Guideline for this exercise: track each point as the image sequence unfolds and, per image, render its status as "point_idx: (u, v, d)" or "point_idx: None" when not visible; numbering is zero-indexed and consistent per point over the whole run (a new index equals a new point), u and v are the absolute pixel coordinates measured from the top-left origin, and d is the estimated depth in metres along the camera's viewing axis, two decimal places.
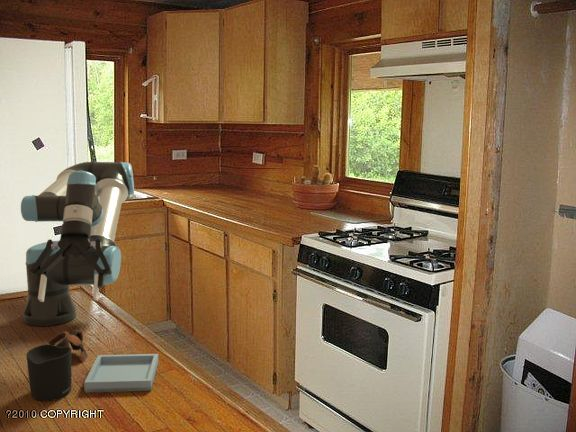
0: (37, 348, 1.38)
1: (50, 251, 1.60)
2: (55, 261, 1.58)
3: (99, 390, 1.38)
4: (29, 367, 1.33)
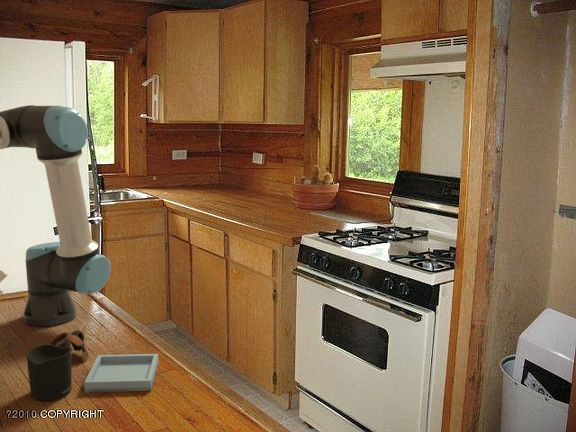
0: (37, 348, 1.38)
1: None
2: None
3: (99, 390, 1.38)
4: (29, 367, 1.33)
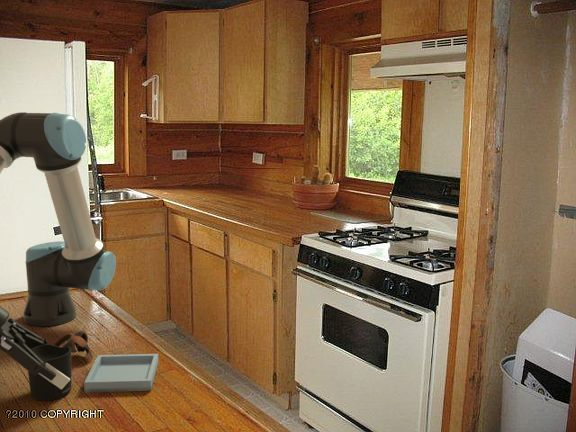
0: (37, 348, 1.38)
1: None
2: (24, 343, 1.37)
3: (99, 390, 1.38)
4: None
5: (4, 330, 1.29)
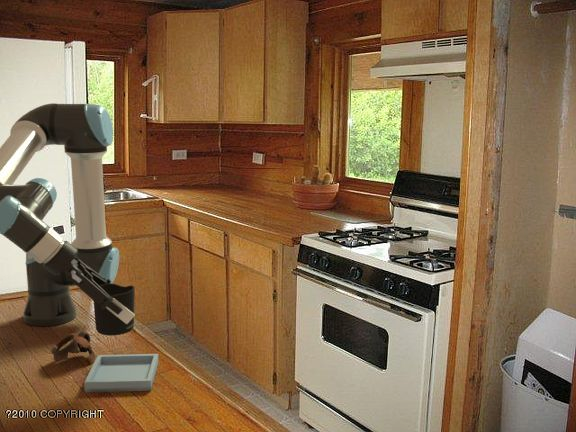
0: (101, 286, 1.43)
1: None
2: None
3: (99, 390, 1.38)
4: (95, 302, 1.38)
5: (74, 265, 1.34)
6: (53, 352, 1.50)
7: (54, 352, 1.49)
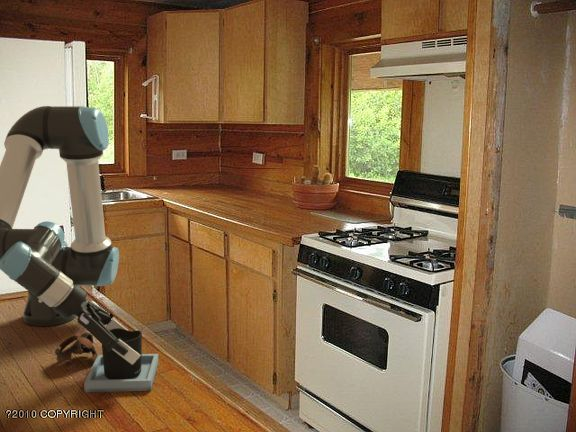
0: None
1: None
2: None
3: (99, 390, 1.38)
4: (104, 349, 1.41)
5: (83, 308, 1.37)
6: (56, 353, 1.49)
7: (58, 353, 1.49)
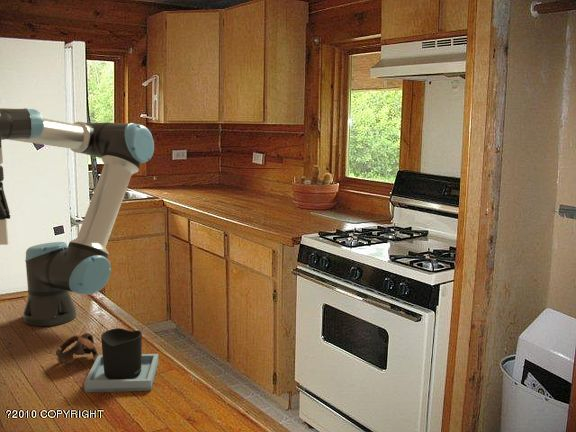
0: (109, 331, 1.46)
1: None
2: None
3: (99, 390, 1.38)
4: (104, 349, 1.41)
5: None
6: (58, 354, 1.49)
7: (59, 354, 1.48)
